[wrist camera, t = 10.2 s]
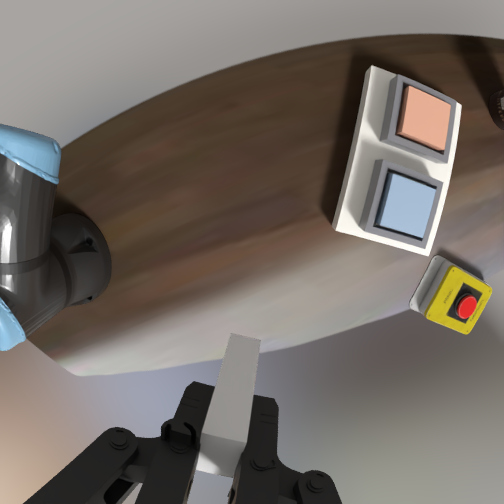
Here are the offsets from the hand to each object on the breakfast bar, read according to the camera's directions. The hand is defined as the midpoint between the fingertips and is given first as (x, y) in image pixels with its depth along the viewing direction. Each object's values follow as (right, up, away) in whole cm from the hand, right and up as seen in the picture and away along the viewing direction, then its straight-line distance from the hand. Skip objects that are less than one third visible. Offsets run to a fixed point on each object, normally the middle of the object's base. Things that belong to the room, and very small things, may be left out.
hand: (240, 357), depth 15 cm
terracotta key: (+21, +22, +15) cm, 33 cm away
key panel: (+20, +18, +20) cm, 34 cm away
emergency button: (+33, -1, +25) cm, 42 cm away
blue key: (+19, +11, +18) cm, 28 cm away
